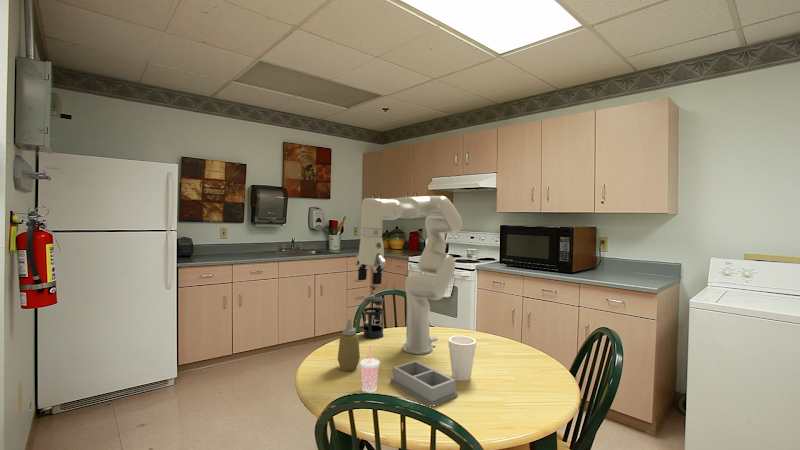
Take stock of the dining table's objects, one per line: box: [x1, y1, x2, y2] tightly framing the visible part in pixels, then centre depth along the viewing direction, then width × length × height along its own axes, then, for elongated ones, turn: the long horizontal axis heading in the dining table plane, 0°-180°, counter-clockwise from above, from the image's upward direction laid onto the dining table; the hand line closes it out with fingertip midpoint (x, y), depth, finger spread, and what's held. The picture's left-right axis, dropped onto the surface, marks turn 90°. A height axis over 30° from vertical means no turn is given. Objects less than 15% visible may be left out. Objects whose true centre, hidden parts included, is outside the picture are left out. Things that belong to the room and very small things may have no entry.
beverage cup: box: [359, 346, 380, 394], centre depth 121 cm, size 6×6×14 cm
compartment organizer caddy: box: [390, 360, 459, 408], centre depth 122 cm, size 20×11×5 cm, turn 38°
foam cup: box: [448, 335, 477, 382], centre depth 132 cm, size 10×9×13 cm
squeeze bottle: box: [337, 318, 361, 372], centre depth 137 cm, size 8×8×18 cm
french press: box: [362, 284, 385, 340], centre depth 174 cm, size 12×9×23 cm
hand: (369, 281), depth 134 cm, fingers open, 9 cm apart
